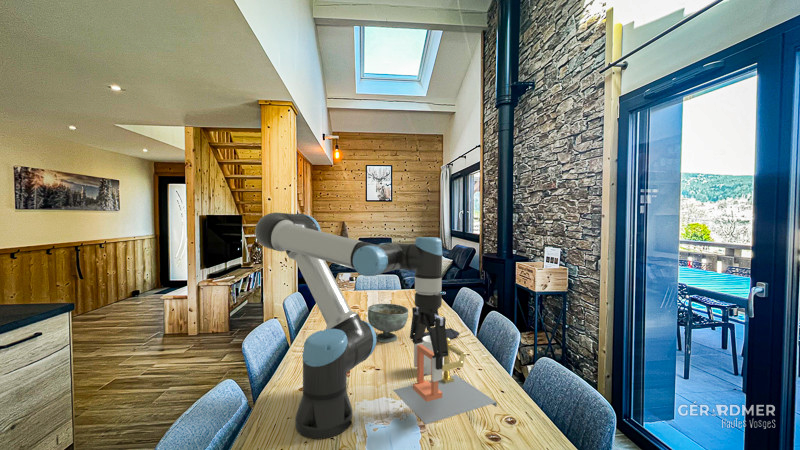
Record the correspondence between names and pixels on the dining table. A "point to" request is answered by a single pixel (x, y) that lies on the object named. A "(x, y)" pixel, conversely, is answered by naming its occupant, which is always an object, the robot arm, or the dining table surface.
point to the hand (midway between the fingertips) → (427, 372)
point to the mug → (427, 360)
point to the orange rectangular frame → (423, 387)
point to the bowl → (387, 320)
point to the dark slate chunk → (447, 333)
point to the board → (445, 400)
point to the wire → (447, 365)
